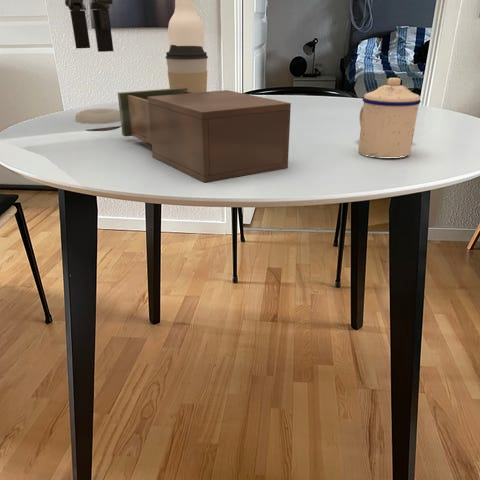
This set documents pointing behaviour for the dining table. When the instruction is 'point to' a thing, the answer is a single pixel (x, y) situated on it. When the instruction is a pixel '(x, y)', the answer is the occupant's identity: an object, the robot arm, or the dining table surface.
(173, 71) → the coffee cup
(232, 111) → the cabinet
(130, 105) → the drawer
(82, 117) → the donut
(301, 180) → the dining table surface
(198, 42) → the alcohol
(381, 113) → the teacup with lid
